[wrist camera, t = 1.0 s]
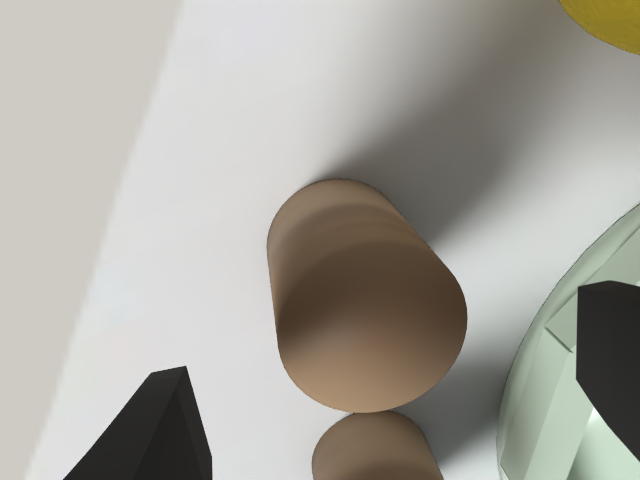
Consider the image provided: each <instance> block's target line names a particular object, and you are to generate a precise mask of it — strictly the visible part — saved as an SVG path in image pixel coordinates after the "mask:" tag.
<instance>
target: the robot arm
mask: <svg viewBox="0 0 640 480" xmlns="http://www.w3.org/2000/svg"><path fill="white" fill-rule="evenodd" d="M576 380H577V382H578V384H579V385H580V387H581V388H582V390H583V391H584V393H585V394H586V396H587V397H588V399H589V400H590V402H591V403H592V405H593V406H594V408H595V409H596V410H597V412H598V413H599V415H600V416H601V417H602V419H603V420H604V422H605V423H606V424H607V426H608V427H609V428H610V429H611V430H612V431H613V433H614V434H615V435H616V436H617V437H618V438H619V439H620V441H621V442H622V443H623V444H624V445H625V446H626V447H627V448H628V450H629V451H630V452H631V453H632V454H633V455H634V456H635V457H636V459H637V460H638V461H639V462H640V286H636V285H632V284H627V283H623V282H618V281H612V280H607V281H602V282H597V283H592V284H587V285H582V286H578V295H577V342H576ZM63 480H212V456H211V452H210V449H209V445H208V442H207V438H206V435H205V431H204V428H203V424H202V420H201V417H200V413H199V410H198V406H197V403H196V399H195V396H194V392H193V388H192V385H191V381H190V378H189V374H188V371H187V367H186V366H182V367H177V368H172V369H167V370H162V371H157V372H152V373H151V374H150V375H149V376H148V377H147V378H146V380H145V381H144V382H143V383H142V385H141V386H140V387H139V388H138V390H137V391H136V392H135V393H134V395H133V396H132V397H131V399H130V400H129V401H128V402H127V404H126V405H125V406H124V408H123V409H122V410H121V411H120V413H119V414H118V415H117V416H116V418H115V419H114V420H113V421H112V423H111V424H110V425H109V426H108V428H107V429H106V430H105V431H104V433H103V434H102V435H101V436H100V437H99V439H98V440H97V441H96V442H95V444H94V445H93V446H92V447H91V449H90V450H89V451H88V452H87V453H86V454H85V456H84V457H83V458H82V459H81V460H80V461H79V462H78V463H77V464H76V466H75V467H74V468H73V469H72V470H71V471H70V472H69V473H68V475H67V476H66V477H65V478H64V479H63Z"/></svg>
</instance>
